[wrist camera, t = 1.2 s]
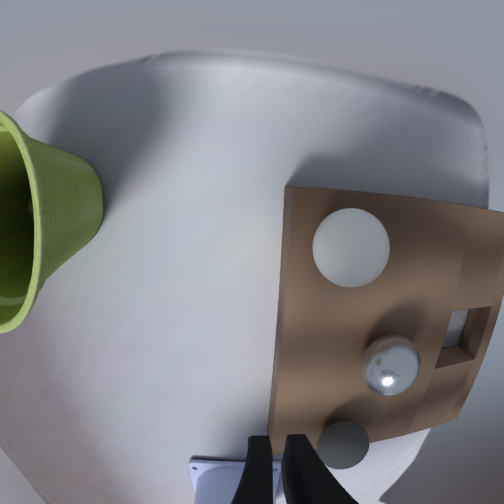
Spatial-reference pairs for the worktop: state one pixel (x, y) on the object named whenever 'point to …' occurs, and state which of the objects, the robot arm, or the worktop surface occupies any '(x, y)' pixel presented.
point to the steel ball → (390, 365)
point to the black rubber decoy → (343, 445)
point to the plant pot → (40, 216)
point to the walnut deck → (382, 314)
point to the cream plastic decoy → (351, 247)
